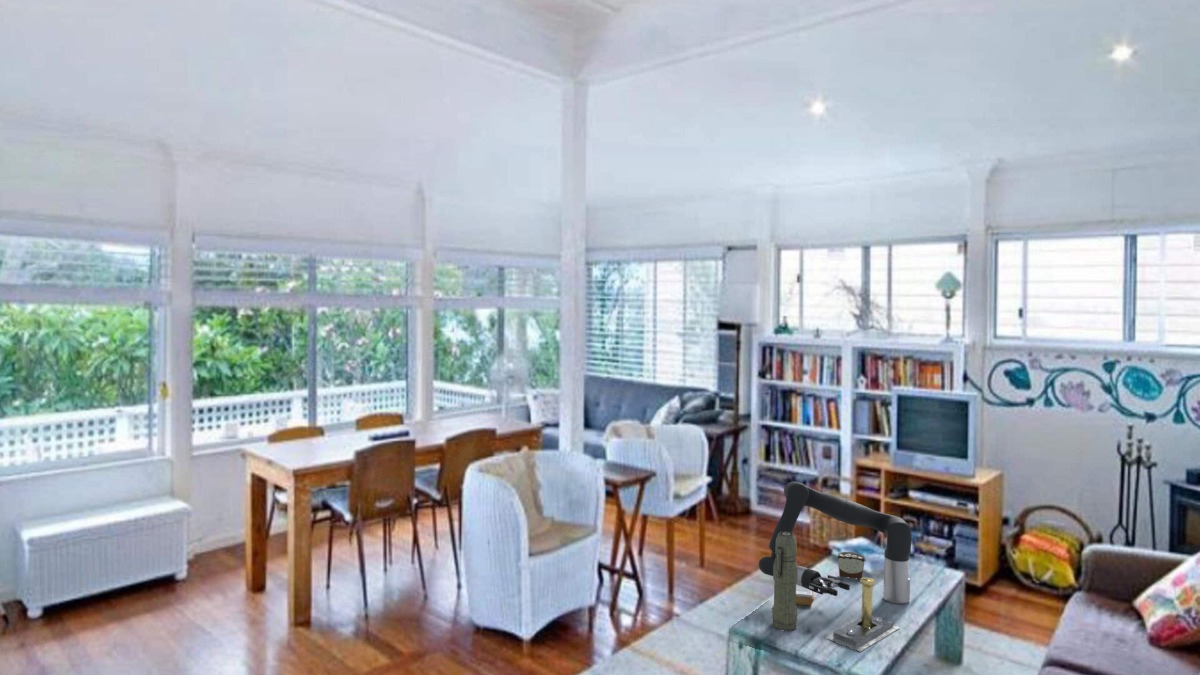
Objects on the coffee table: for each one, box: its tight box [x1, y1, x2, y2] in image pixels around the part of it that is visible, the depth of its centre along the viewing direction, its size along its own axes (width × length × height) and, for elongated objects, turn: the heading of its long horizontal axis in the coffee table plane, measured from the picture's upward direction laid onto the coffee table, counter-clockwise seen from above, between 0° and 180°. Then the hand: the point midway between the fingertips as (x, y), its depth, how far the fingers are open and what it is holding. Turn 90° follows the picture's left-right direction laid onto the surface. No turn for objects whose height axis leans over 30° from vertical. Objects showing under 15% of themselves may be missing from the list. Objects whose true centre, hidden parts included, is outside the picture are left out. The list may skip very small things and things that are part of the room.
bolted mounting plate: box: [826, 615, 900, 653], centre depth 266 cm, size 28×13×4 cm, turn 131°
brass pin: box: [859, 576, 876, 629], centre depth 267 cm, size 5×5×19 cm
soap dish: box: [796, 585, 815, 606], centre depth 296 cm, size 12×10×5 cm
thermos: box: [771, 532, 799, 632], centre depth 271 cm, size 9×12×35 cm
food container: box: [836, 551, 867, 580], centre depth 322 cm, size 12×6×10 cm, turn 71°
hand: (843, 590), depth 274 cm, fingers open, 8 cm apart
